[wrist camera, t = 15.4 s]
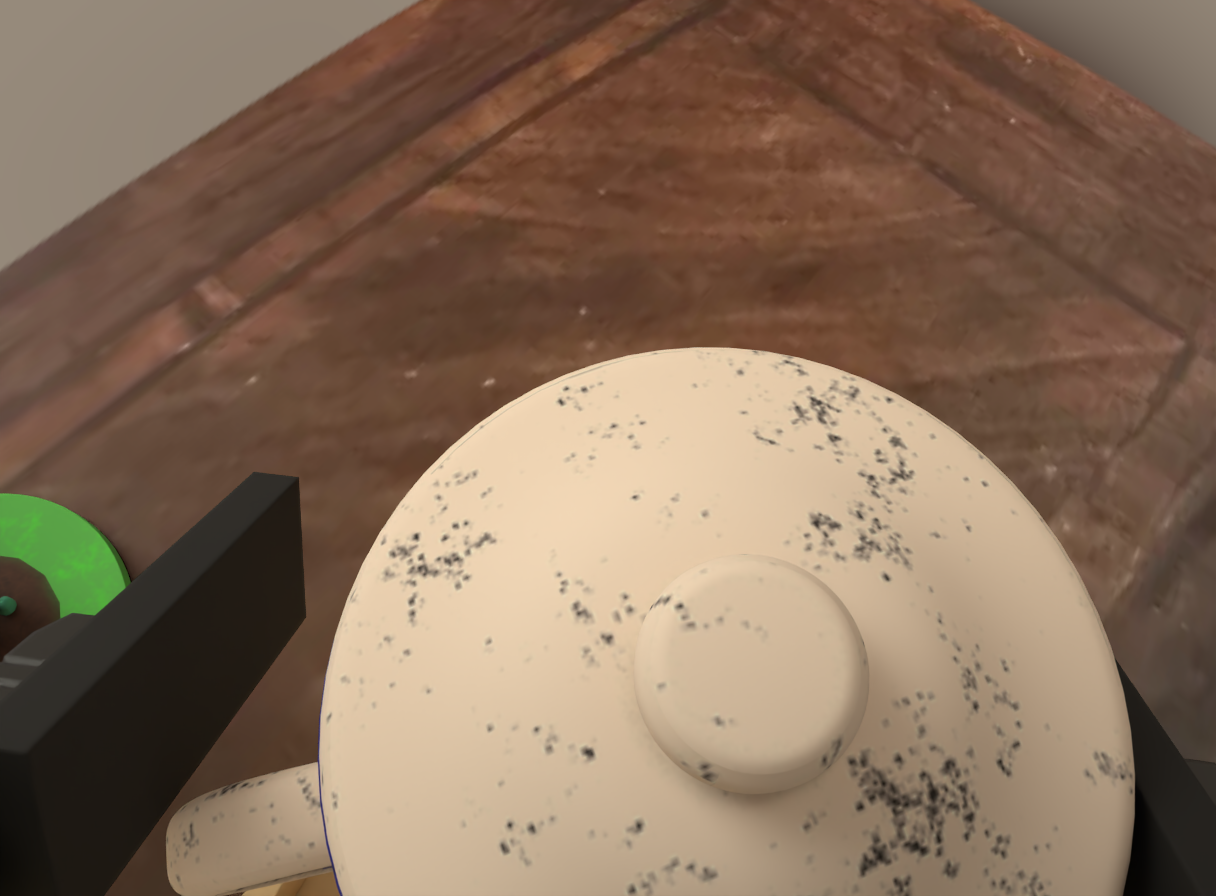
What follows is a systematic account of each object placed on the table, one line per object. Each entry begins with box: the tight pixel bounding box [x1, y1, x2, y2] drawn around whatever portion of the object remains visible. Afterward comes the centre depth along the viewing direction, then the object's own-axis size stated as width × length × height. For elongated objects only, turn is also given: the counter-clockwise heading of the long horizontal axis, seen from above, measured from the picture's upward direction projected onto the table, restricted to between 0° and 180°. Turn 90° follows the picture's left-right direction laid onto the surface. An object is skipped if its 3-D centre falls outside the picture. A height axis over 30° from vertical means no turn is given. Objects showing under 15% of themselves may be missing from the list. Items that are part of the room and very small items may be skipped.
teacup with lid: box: [166, 348, 1135, 896], centre depth 13 cm, size 12×9×12 cm
